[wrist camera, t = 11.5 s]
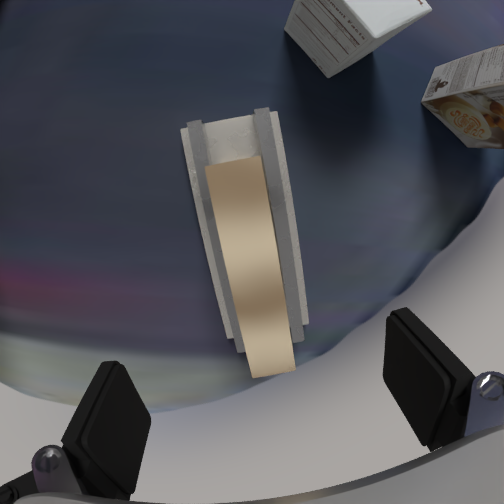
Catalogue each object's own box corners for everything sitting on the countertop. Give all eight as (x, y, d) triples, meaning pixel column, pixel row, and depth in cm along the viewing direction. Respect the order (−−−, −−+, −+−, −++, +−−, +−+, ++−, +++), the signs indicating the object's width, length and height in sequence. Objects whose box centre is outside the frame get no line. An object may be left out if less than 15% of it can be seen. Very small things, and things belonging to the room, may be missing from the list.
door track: (183, 131, 28) (173, 125, 23) (274, 114, 28) (281, 105, 23) (227, 329, 34) (226, 354, 30) (305, 315, 34) (315, 338, 29)
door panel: (218, 164, 27) (204, 166, 16) (250, 157, 27) (260, 155, 16) (246, 302, 31) (252, 378, 20) (275, 296, 31) (295, 370, 20)
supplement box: (331, 3, 24) (373, -57, 12) (374, 51, 26) (437, 11, 14) (280, 29, 25) (305, -36, 13) (326, 81, 27) (377, 40, 15)
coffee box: (480, 111, 28) (573, 108, 12) (467, 148, 29) (566, 158, 14) (433, 65, 26) (528, 35, 11) (417, 102, 28) (521, 84, 12)
